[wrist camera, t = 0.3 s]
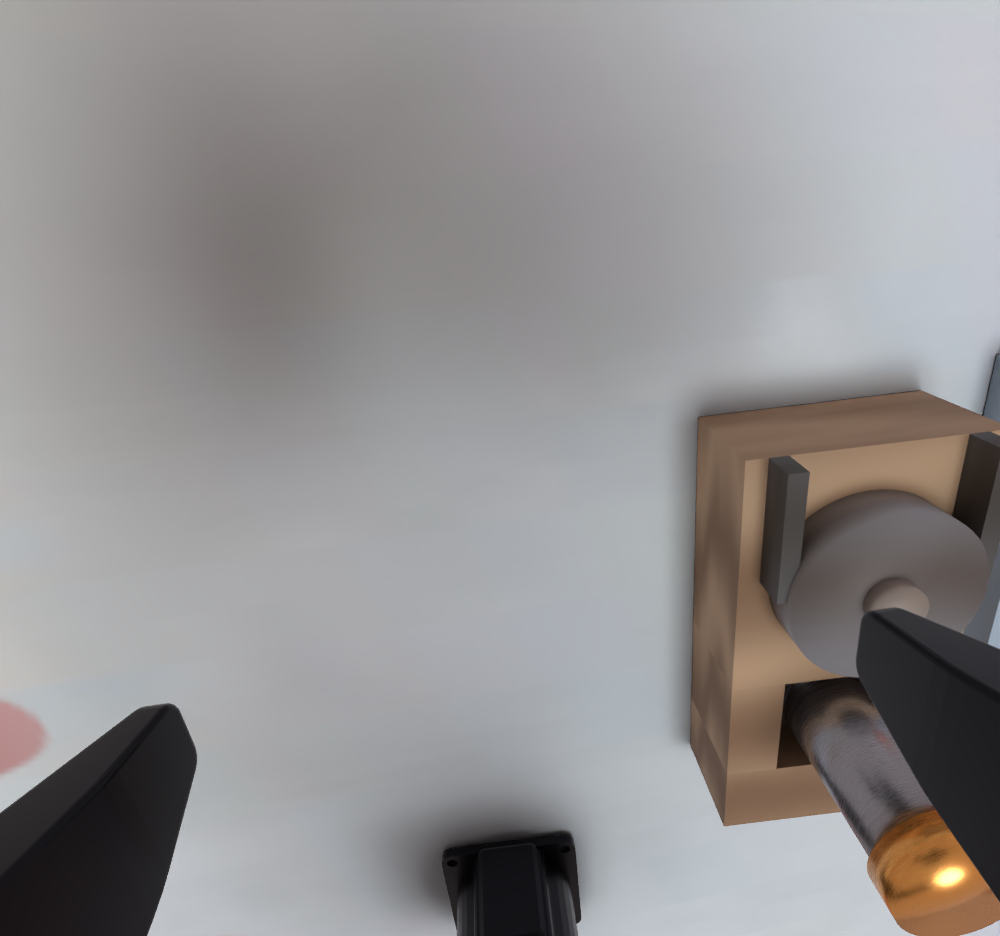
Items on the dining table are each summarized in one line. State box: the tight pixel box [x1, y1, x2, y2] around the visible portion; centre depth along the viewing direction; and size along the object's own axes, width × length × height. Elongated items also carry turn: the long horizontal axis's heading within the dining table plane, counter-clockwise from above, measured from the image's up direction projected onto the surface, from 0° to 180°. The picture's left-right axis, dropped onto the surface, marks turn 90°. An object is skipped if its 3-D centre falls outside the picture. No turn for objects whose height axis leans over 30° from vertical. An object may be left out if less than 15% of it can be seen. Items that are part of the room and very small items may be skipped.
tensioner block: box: [690, 391, 1000, 826], centre depth 22 cm, size 16×8×6 cm, turn 6°
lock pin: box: [782, 677, 1000, 936], centre depth 22 cm, size 4×4×10 cm
